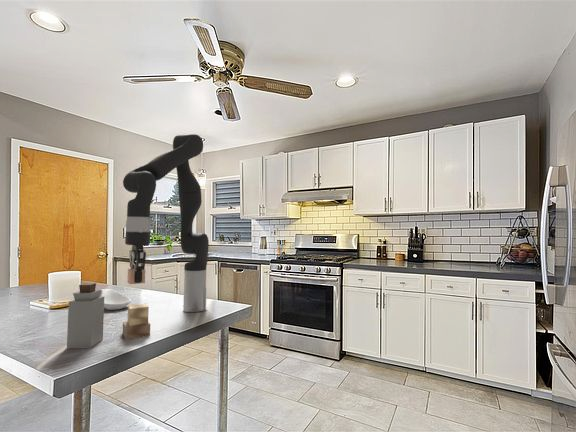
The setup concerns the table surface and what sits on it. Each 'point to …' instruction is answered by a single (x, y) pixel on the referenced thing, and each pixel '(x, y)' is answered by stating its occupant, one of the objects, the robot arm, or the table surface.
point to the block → (131, 276)
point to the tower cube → (138, 314)
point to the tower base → (135, 330)
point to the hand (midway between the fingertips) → (136, 281)
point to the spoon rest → (114, 299)
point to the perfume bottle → (85, 317)
